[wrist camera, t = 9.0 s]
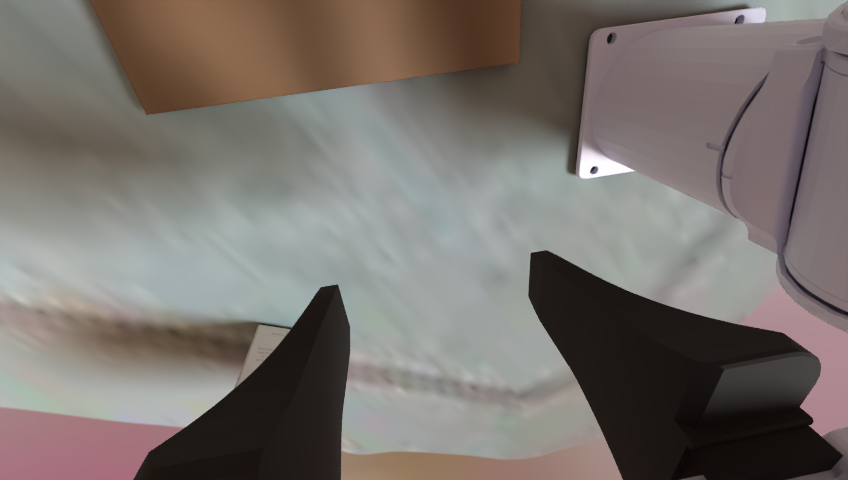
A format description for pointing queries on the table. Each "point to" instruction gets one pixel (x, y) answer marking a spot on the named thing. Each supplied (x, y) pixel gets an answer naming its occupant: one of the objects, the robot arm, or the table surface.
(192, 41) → the pin board
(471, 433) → the table surface
